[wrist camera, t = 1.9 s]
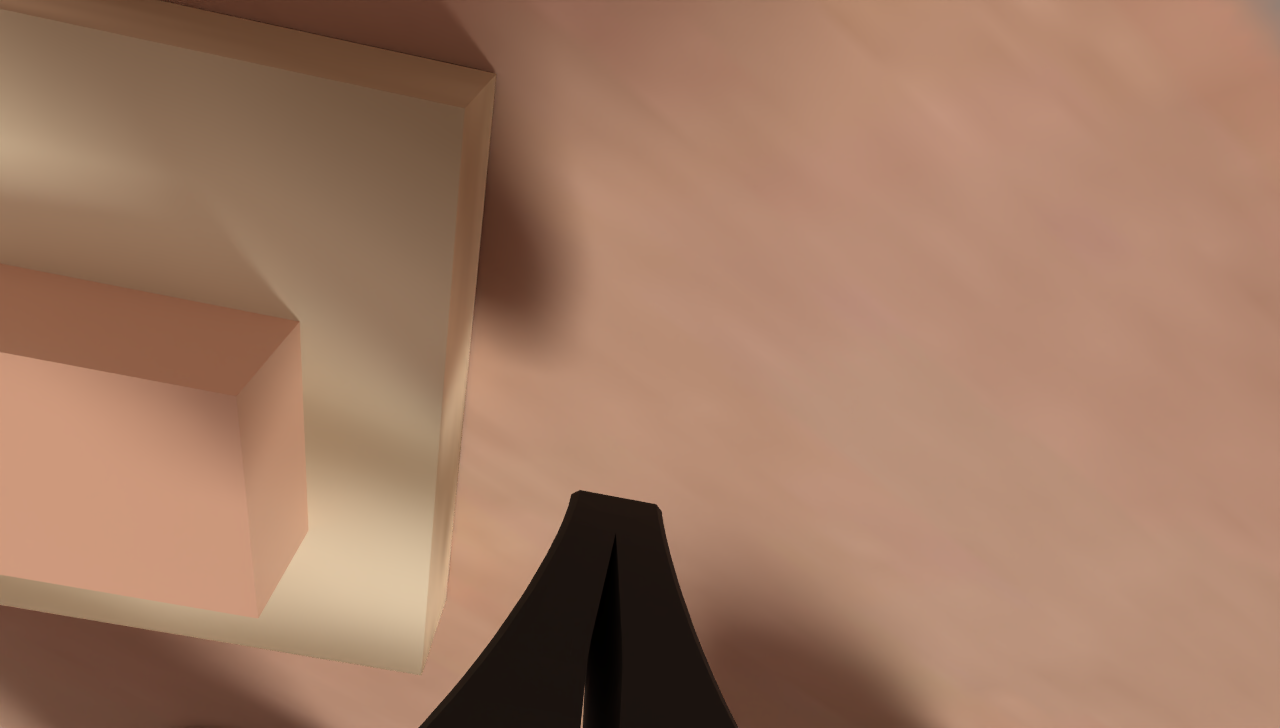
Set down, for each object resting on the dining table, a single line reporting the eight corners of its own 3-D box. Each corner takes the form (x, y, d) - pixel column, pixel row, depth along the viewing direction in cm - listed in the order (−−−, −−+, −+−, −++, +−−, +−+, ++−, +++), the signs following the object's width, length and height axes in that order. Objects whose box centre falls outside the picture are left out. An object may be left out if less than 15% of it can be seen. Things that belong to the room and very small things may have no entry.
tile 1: (308, 530, 14) (258, 618, 13) (56, 485, 14) (-29, 569, 12) (299, 321, 12) (236, 395, 10) (-4, 262, 12) (-120, 329, 10)
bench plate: (445, 600, 18) (421, 675, 17) (-138, 498, 17) (-226, 567, 16) (496, 74, 12) (464, 108, 10) (-424, -127, 11) (-625, -126, 9)
